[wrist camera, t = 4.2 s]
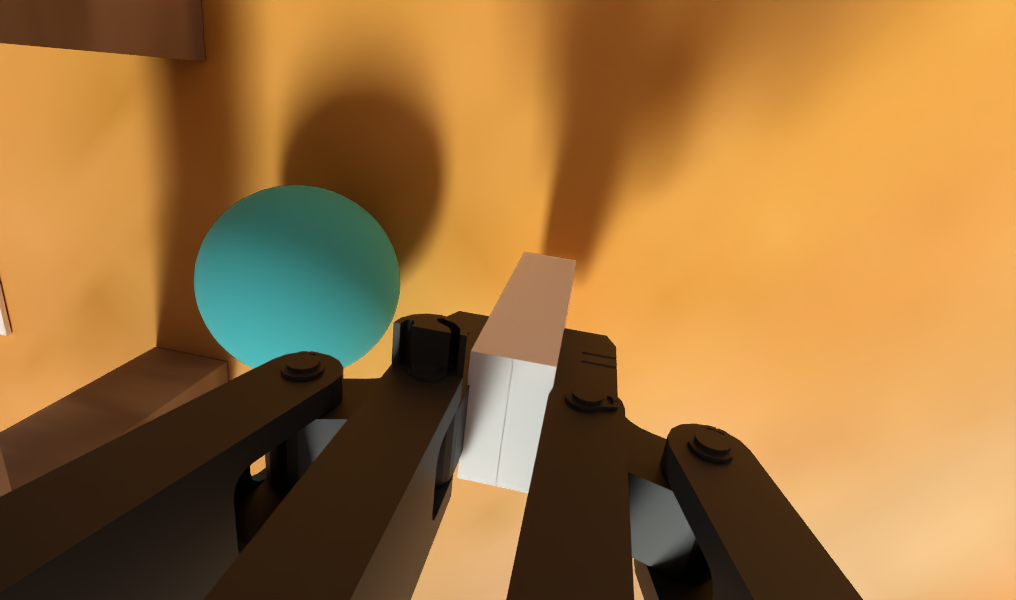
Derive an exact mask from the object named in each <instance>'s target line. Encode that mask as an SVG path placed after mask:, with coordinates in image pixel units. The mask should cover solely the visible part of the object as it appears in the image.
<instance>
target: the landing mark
mask: <svg viewBox="0 0 1016 600" xmlns="http://www.w3.org/2000/svg"><path fill="white" fill-rule="evenodd" d="M10 334H12V333H11V329H10V325H9V320H8V316H7V312H6V307H5V303H4V298H3V294H2V290H1V285H0V335H5V336H8V335H10Z"/></svg>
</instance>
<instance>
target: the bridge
mask: <svg viewBox="0 0 1016 600" xmlns="http://www.w3.org/2000/svg"><path fill="white" fill-rule="evenodd" d="M0 43H7V44H18V45H29V46H40V47H51V48H62V49H74V50H85V51H96V52H107V53H118V54H129V55H140V56H152V57H163V58H174V59H185V60H196V61H205V48H204V34H203V20H202V6H201V0H0ZM228 381H229V380H228V367H227V361H222V360H217V359H212V358H207V357H202V356H197V355H192V354H187V353H182V352H177V351H173V350H168V349H163V348H158V347H155V348H153V349H151V350H149V351H147V352H145V353H144V354H142V355H140V356H138V357H136V358H135V359H133V360H131V361H129V362H127V363H125V364H124V365H122V366H120V367H118V368H116V369H115V370H113V371H111V372H109V373H107V374H105V375H104V376H102V377H100V378H98V379H96V380H95V381H93V382H91V383H89V384H87V385H86V386H84V387H82V388H80V389H78V390H76V391H75V392H73V393H71V394H69V395H67V396H66V397H64V398H62V399H60V400H58V401H56V402H55V403H53V404H51V405H49V406H47V407H46V408H44V409H42V410H40V411H38V412H36V413H35V414H33V415H31V416H29V417H27V418H26V419H24V420H22V421H20V422H18V423H17V424H15V425H13V426H11V427H9V428H7V429H6V430H4V431H2V432H0V497H1V496H3V495H5V494H7V493H9V492H11V491H13V490H15V489H17V488H19V487H20V486H22V485H24V484H26V483H28V482H30V481H32V480H34V479H36V478H38V477H40V476H42V475H44V474H46V473H48V472H50V471H52V470H54V469H56V468H58V467H60V466H62V465H64V464H66V463H68V462H70V461H72V460H74V459H76V458H78V457H80V456H82V455H84V454H86V453H88V452H90V451H92V450H94V449H96V448H98V447H100V446H102V445H104V444H106V443H108V442H110V441H112V440H114V439H116V438H118V437H120V436H122V435H123V434H125V433H127V432H129V431H131V430H133V429H135V428H137V427H139V426H141V425H143V424H145V423H147V422H149V421H151V420H153V419H155V418H157V417H159V416H161V415H163V414H165V413H167V412H169V411H171V410H173V409H175V408H177V407H179V406H181V405H183V404H185V403H187V402H189V401H191V400H193V399H195V398H197V397H199V396H201V395H203V394H205V393H207V392H209V391H211V390H213V389H215V388H217V387H219V386H221V385H223V384H225V383H227V382H228Z"/></svg>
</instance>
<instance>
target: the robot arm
mask: <svg viewBox="0 0 1016 600" xmlns="http://www.w3.org/2000/svg"><path fill="white" fill-rule="evenodd" d="M576 262H577V260H572V259H566V258H560V257H554V256H548V255H542V254H536V253H529V252H524V253H523V255H522V257H521V259H520V261H519V262H518V264H517V266H516V268H515V270H514V272H513V274H512V275H511V277H510V279H509V281H508V283H507V285H506V287H505V288H504V290H503V292H502V294H501V296H500V298H499V300H498V301H497V303H496V305H495V307H494V309H493V311H492V313H491V314H490V316H484V315H478V314H473V313H467V312H462V311H458V312H456V313H454V314H452V315H449V316H447V317H446V316H442V315H435V314H414V315H410V316H406V317H402V318H400V319H398V320H397V321H395V322H394V326H393V347H392V364H391V366H390V367H389V368H388V369H387V371H386V372H385V373H384V374H383V376H382V377H381V378H375V379H343V366H342V364H341V363H340V361H339V360H338V359H336V358H334V357H332V356H330V355H327V354H322V353H318V352H313V351H310V352H308V351H299V352H297V353H291V354H285V355H283V356H280V357H277V358H274V359H272V360H270V361H268V362H266V363H264V364H262V365H260V366H258V367H256V368H254V369H252V370H250V371H248V372H246V373H244V374H242V375H240V376H238V377H236V378H234V379H232V380H230V381H228V382H227V383H225V384H223V385H221V386H219V387H217V388H215V389H213V390H211V391H209V392H207V393H205V394H203V395H201V396H199V397H197V398H195V399H193V400H191V401H189V402H187V403H185V404H183V405H181V406H179V407H177V408H175V409H173V410H171V411H169V412H167V413H165V414H163V415H161V416H159V417H157V418H155V419H153V420H151V421H149V422H147V423H145V424H143V425H141V426H139V427H137V428H135V429H133V430H131V431H129V432H127V433H125V434H123V435H122V436H120V437H118V438H116V439H114V440H112V441H110V442H108V443H106V444H104V445H102V446H100V447H98V448H96V449H94V450H92V451H90V452H88V453H86V454H84V455H82V456H80V457H78V458H76V459H74V460H72V461H70V462H68V463H66V464H64V465H62V466H60V467H58V468H56V469H54V470H52V471H50V472H48V473H46V474H44V475H42V476H40V477H38V478H36V479H34V480H32V481H30V482H28V483H26V484H24V485H22V486H20V487H19V488H17V489H15V490H13V491H11V492H9V493H7V494H5V495H3V496H1V497H0V600H411V597H412V595H413V592H414V590H415V587H416V585H417V582H418V579H419V577H420V574H421V572H422V569H423V567H424V564H425V561H426V559H427V556H428V554H429V551H430V549H431V546H432V543H433V541H434V538H435V536H436V533H437V531H438V528H439V525H440V523H441V520H442V518H443V515H444V513H445V510H446V507H447V505H448V502H449V500H450V497H451V490H452V480H453V473H454V471H455V468H456V466H457V463H458V461H459V468H458V477H457V478H460V479H465V480H470V481H474V482H479V483H484V484H488V485H493V486H498V487H502V488H507V489H512V490H516V491H521V492H525V493H528V497H527V502H526V507H525V512H524V516H523V521H522V526H521V531H520V536H519V541H518V546H517V551H516V555H515V560H514V565H513V570H512V575H511V580H510V585H509V590H508V594H507V599H506V600H634V587H633V567H632V558H634V566H635V573H636V576H637V579H638V582H639V585H640V588H641V591H642V594H643V597H644V600H863V599H862V598H861V596H860V595H859V594H858V592H857V591H856V590H855V588H854V587H853V586H852V584H851V583H850V582H849V580H848V579H847V578H846V576H845V575H844V574H843V572H842V571H841V570H840V568H839V567H838V566H837V564H836V563H835V562H834V561H833V559H832V558H831V557H830V555H829V554H828V553H827V551H826V550H825V549H824V547H823V546H822V545H821V543H820V542H819V541H818V539H817V538H816V537H815V535H814V534H813V533H812V531H811V530H810V529H809V527H808V526H807V525H806V524H805V522H804V521H803V520H802V518H801V517H800V516H799V514H798V513H797V512H796V510H795V509H794V508H793V506H792V505H791V504H790V502H789V501H788V500H787V498H786V497H785V496H784V494H783V493H782V492H781V490H780V489H779V488H778V487H777V485H776V484H775V483H774V481H773V480H772V479H771V477H770V476H769V475H768V473H767V472H766V471H765V469H764V468H763V467H762V465H761V464H760V463H759V461H758V460H757V459H756V457H755V456H754V455H753V453H752V452H751V451H750V450H749V449H748V448H747V447H746V446H745V445H744V444H743V443H742V442H741V441H740V440H738V439H736V438H735V437H733V436H731V435H730V434H728V433H727V432H725V431H723V430H721V429H716V427H712V426H708V425H699V424H681V425H679V426H676V427H674V428H672V429H671V431H670V432H669V434H668V436H667V439H665V438H662V437H660V436H657V435H655V434H652V433H650V432H648V431H646V430H643V429H641V428H639V427H638V426H636V425H635V424H633V423H632V422H630V421H629V420H628V419H627V418H626V417H625V408H624V405H623V403H622V401H621V400H620V399H619V398H618V394H617V369H616V368H617V363H616V346H615V345H614V344H613V343H612V342H611V340H610V339H609V338H608V337H607V336H605V335H599V334H594V333H588V332H582V331H577V330H571V329H566V328H565V325H566V319H567V314H568V308H569V302H570V296H571V290H572V285H573V279H574V273H575V267H576ZM264 455H265V462H266V468H265V469H263V470H262V471H261V472H259V473H258V474H256V475H253V476H251V474H250V465H251V464H252V463H253V462H255V461H256V460H258V459H259V458H261V457H262V456H264Z"/></svg>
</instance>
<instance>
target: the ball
mask: <svg viewBox="0 0 1016 600" xmlns="http://www.w3.org/2000/svg"><path fill="white" fill-rule="evenodd" d="M194 290H195V297H196V302H197V305H198V308H199V311H200V314H201V316H202V318H203V321H204V323H205V325H206V326H207V328H208V329H209V331H210V333H211V334H212V335H213V337H214V338H215V339H216V341H217V342H218V343H219V344H220V345H221V346H222V347H223V348H224V349H225V350H226V351H227V352H229V353H230V354H231V355H232V356H233V357H235V358H236V359H238V360H239V361H241V362H242V363H244V364H246V365H248V366H250V367H251V368H256V367H258V366H260V365H262V364H264V363H266V362H268V361H270V360H272V359H274V358H277V357H280V356H283V355H285V354H291V353H297V352H299V351H308V352H310V351H313V352H318V353H322V354H327V355H330V356H332V357H334V358H336V359H338V360H339V361H340V363H341V364H342V366H343V368H345V367H346V366H348V365H350V364H352V363H354V362H355V361H357V360H358V359H360V358H361V357H363V356H364V355H365V354H366V353H367V352H368V351H370V350H371V349H372V348H373V347H374V346H375V345H376V344H377V343H378V341H379V340H380V339H381V338H382V336H383V335H384V333H385V332H386V330H387V328H388V327H389V325H390V323H391V321H392V319H393V316H394V314H395V311H396V308H397V304H398V299H399V294H400V273H399V266H398V261H397V257H396V254H395V251H394V248H393V246H392V244H391V242H390V240H389V238H388V236H387V235H386V233H385V231H384V230H383V228H382V227H381V226H380V224H379V223H378V222H377V221H376V220H375V218H373V217H372V216H371V215H370V214H369V213H368V212H367V211H366V210H365V209H364V208H362V207H361V206H360V205H358V204H357V203H355V202H354V201H352V200H350V199H349V198H347V197H345V196H342V195H340V194H338V193H336V192H333V191H330V190H327V189H324V188H320V187H313V186H306V185H286V186H278V187H272V188H269V189H265V190H261V191H259V192H256V193H254V194H252V195H250V196H248V197H245V198H243V199H242V200H240V201H238V202H237V203H235V204H234V205H233V206H231V207H230V208H229V209H228V210H226V211H225V212H224V213H223V214H222V215H221V216H220V217H219V218H218V219H217V221H216V222H215V223H214V224H213V226H212V227H211V228H210V230H209V231H208V233H207V234H206V236H205V238H204V240H203V242H202V245H201V247H200V250H199V253H198V256H197V259H196V264H195V272H194Z"/></svg>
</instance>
